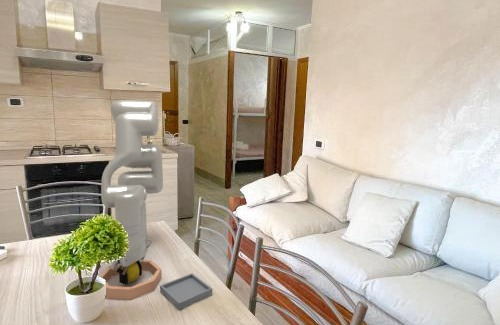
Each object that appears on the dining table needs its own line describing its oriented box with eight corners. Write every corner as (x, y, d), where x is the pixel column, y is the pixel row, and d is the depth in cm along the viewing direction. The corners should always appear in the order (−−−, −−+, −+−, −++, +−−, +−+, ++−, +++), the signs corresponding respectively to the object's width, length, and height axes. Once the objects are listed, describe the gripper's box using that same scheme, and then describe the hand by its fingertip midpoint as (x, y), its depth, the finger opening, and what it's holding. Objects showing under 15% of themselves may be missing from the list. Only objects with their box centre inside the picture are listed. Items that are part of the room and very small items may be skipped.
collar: (93, 280, 110) (92, 271, 110) (145, 263, 123) (144, 254, 122) (113, 306, 97) (112, 296, 96) (169, 284, 109) (169, 275, 109)
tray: (160, 291, 105) (160, 285, 105) (192, 278, 113) (192, 273, 113) (179, 310, 97) (179, 303, 96) (212, 294, 104) (212, 288, 104)
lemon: (134, 288, 107) (133, 266, 105) (118, 286, 108) (117, 263, 106) (142, 279, 112) (142, 257, 110) (128, 277, 113) (127, 256, 112)
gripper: (115, 240, 97) (118, 295, 100) (155, 222, 112) (157, 270, 116) (98, 235, 100) (101, 288, 104) (139, 218, 115) (141, 265, 119)
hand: (131, 278), depth 110 cm, fingers closed on lemon, 5 cm apart
